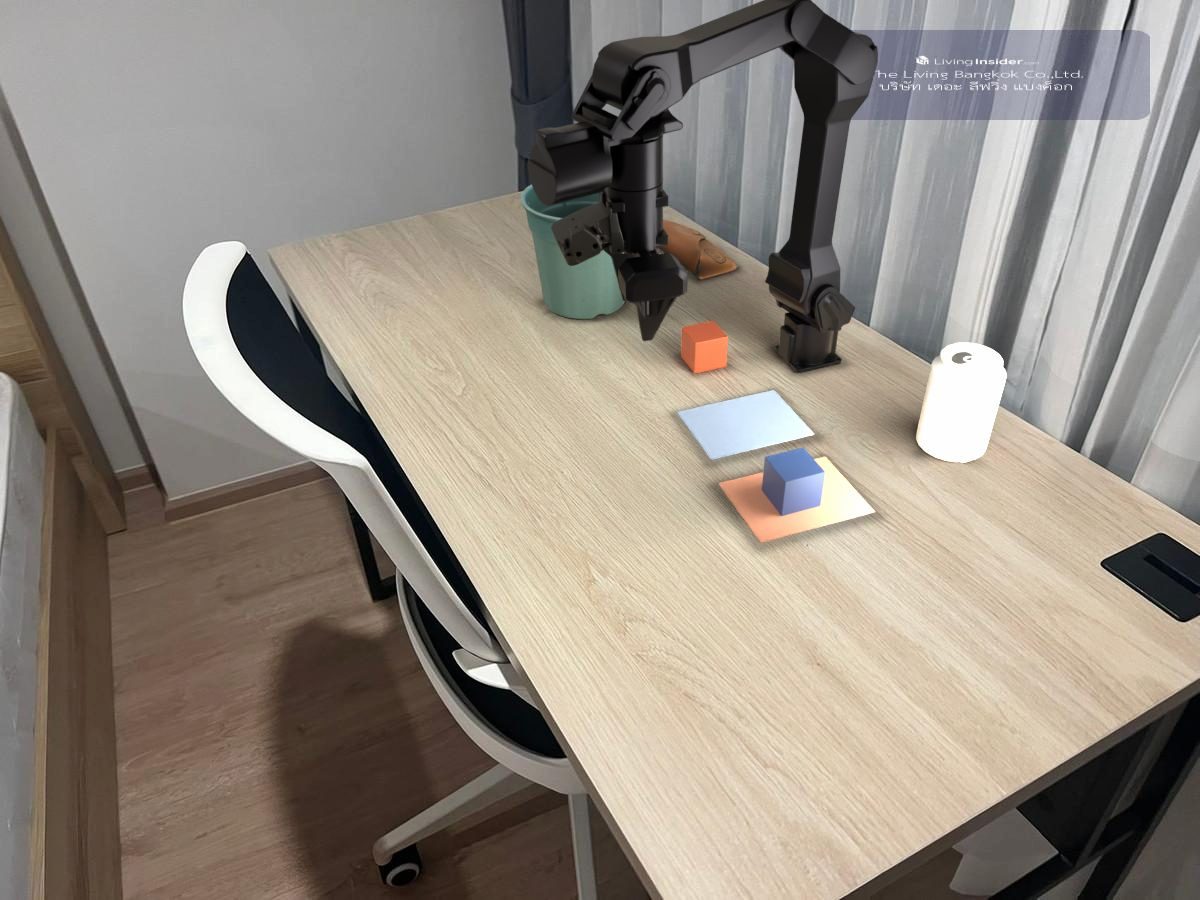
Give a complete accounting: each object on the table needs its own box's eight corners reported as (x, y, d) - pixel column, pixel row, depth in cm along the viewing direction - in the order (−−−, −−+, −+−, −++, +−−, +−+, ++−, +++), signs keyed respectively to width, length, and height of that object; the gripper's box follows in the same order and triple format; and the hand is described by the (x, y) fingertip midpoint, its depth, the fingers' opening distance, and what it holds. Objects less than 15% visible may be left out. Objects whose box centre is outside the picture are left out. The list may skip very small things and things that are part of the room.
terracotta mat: (824, 460, 100) (825, 455, 99) (874, 515, 92) (875, 511, 92) (717, 487, 97) (717, 482, 96) (760, 547, 89) (760, 542, 89)
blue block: (799, 480, 96) (803, 446, 94) (820, 506, 93) (825, 472, 90) (761, 490, 95) (764, 456, 92) (781, 516, 92) (785, 482, 89)
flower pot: (664, 305, 130) (665, 197, 120) (568, 340, 123) (561, 229, 113) (600, 265, 141) (596, 164, 131) (509, 296, 134) (498, 191, 124)
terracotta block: (712, 350, 119) (713, 320, 117) (726, 366, 116) (728, 336, 113) (680, 356, 118) (681, 326, 116) (694, 373, 115) (695, 343, 112)
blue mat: (773, 393, 111) (774, 389, 110) (814, 438, 103) (815, 434, 103) (676, 415, 108) (676, 411, 107) (710, 463, 100) (711, 459, 100)
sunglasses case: (742, 266, 138) (725, 235, 133) (708, 296, 138) (690, 267, 133) (681, 225, 151) (664, 196, 146) (650, 253, 151) (631, 225, 146)
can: (935, 420, 105) (956, 330, 98) (996, 446, 101) (1023, 354, 93) (901, 448, 101) (920, 356, 94) (963, 477, 97) (989, 383, 89)
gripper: (540, 158, 96) (551, 291, 105) (571, 228, 81) (580, 374, 90) (642, 147, 97) (643, 278, 107) (690, 213, 82) (687, 358, 92)
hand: (637, 319), depth 99 cm, fingers open, 9 cm apart
